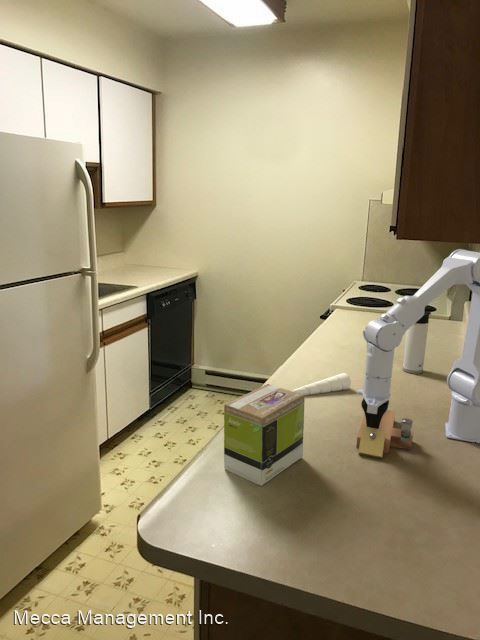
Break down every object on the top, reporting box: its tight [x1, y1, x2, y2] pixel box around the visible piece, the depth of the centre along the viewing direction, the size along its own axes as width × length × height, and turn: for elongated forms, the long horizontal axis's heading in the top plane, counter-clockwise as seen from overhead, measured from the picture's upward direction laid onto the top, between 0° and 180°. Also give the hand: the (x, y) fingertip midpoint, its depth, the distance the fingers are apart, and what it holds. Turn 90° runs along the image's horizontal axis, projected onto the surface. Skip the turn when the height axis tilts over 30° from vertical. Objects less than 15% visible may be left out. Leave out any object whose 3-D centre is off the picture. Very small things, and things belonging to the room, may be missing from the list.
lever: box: [400, 417, 413, 442], centre depth 110 cm, size 10×2×2 cm, turn 160°
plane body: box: [355, 409, 414, 454], centre depth 118 cm, size 12×18×4 cm, turn 159°
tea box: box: [223, 383, 306, 487], centre depth 103 cm, size 15×10×15 cm, turn 141°
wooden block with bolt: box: [358, 426, 386, 459], centre depth 109 cm, size 5×6×2 cm
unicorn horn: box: [291, 372, 352, 396], centre depth 143 cm, size 5×24×5 cm, turn 111°
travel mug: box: [402, 310, 432, 375], centre depth 161 cm, size 6×7×20 cm
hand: (372, 430), depth 113 cm, fingers closed
